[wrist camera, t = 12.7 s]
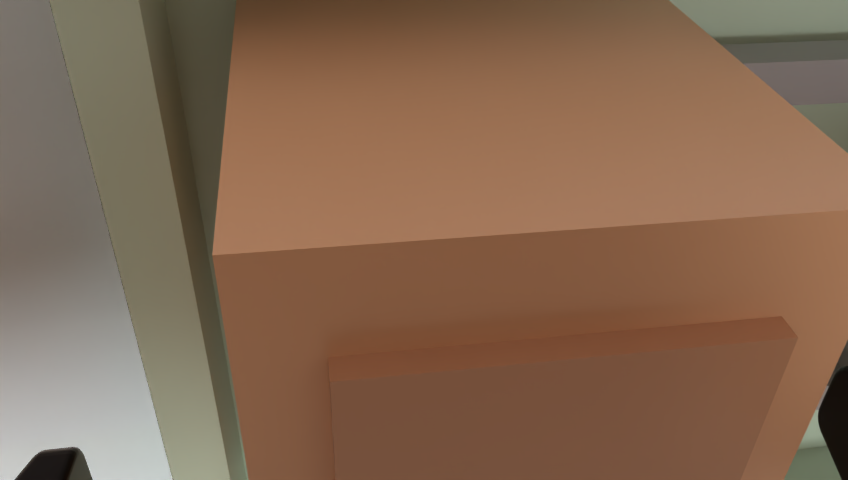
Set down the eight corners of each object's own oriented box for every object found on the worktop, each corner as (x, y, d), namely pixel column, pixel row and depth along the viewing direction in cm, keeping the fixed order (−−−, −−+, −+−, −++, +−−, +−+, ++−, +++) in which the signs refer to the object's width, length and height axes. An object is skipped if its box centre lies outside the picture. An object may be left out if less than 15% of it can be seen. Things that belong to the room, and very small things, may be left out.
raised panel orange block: (883, 388, 15) (1128, 678, 11) (287, 451, 14) (297, 820, 9) (1100, -28, 11) (1672, 187, 6) (236, -5, 9) (208, 305, 5)
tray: (1374, -220, 10) (1567, -198, 9) (963, 436, 18) (1028, 510, 16) (49, -226, 8) (-4, -199, 6) (215, 527, 15) (209, 622, 14)
